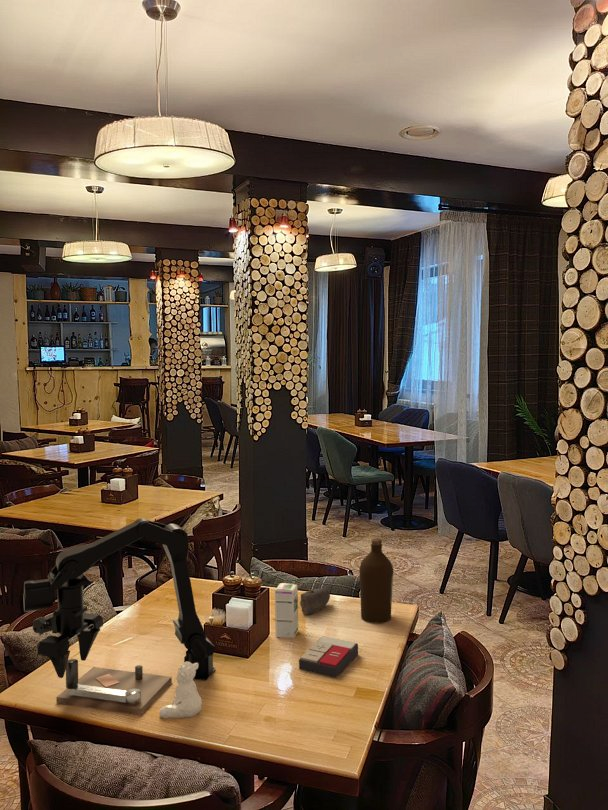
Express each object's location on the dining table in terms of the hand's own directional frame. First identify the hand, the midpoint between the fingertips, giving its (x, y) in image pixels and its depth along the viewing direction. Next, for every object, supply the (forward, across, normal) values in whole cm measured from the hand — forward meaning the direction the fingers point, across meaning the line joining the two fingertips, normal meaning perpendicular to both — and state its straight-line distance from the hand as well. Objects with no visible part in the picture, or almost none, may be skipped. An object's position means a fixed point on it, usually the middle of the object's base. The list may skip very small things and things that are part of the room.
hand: (72, 668), depth 159 cm
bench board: (+8, -6, +8) cm, 13 cm away
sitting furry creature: (+8, -2, +28) cm, 29 cm away
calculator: (+9, -35, +55) cm, 66 cm away
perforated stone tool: (+8, -71, +43) cm, 83 cm away
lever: (+6, 0, +8) cm, 10 cm away
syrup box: (+8, -50, +39) cm, 64 cm away
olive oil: (+8, -69, +63) cm, 94 cm away
